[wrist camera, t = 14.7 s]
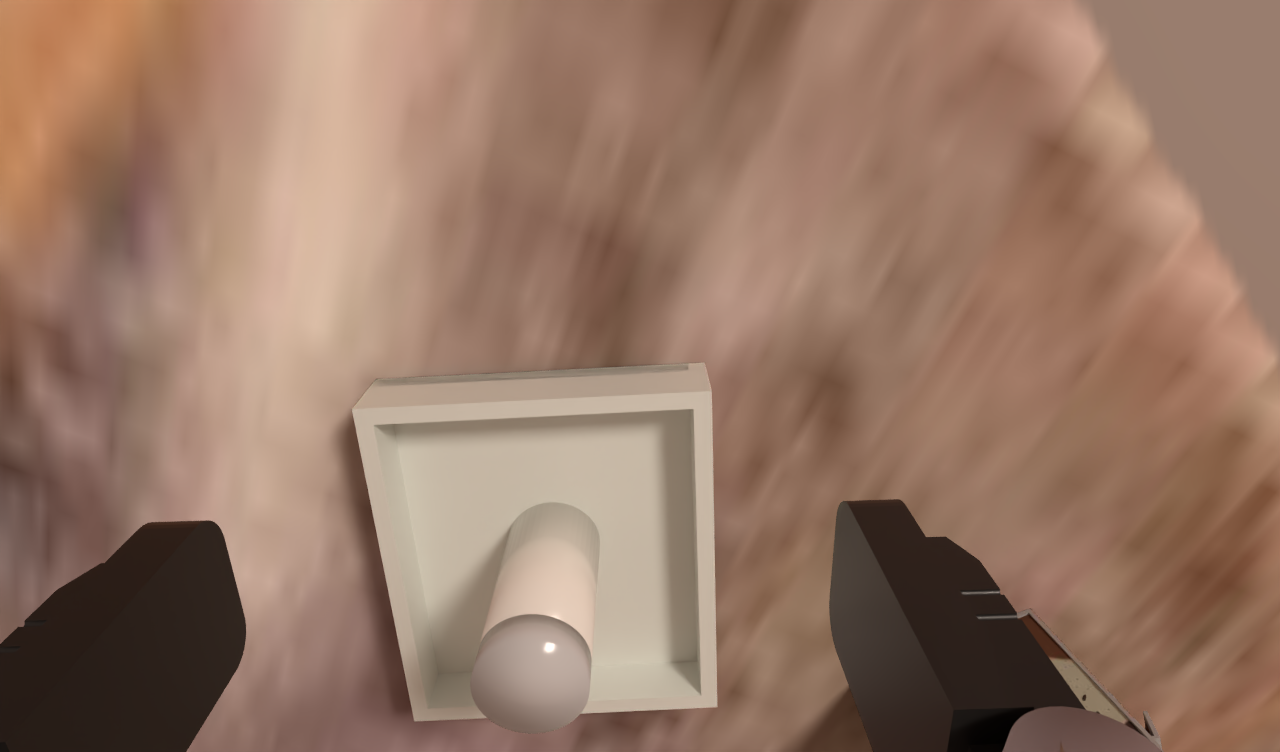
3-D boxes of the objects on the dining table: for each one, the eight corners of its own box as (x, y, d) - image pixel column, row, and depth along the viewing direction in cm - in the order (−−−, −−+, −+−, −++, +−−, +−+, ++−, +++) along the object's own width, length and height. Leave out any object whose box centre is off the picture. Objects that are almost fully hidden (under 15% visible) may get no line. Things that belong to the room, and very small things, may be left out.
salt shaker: (514, 582, 41) (478, 736, 31) (503, 504, 39) (462, 642, 30) (603, 578, 41) (593, 730, 31) (597, 500, 39) (584, 637, 30)
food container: (876, 750, 47) (937, 922, 37) (841, 675, 45) (897, 837, 35) (1083, 679, 45) (1201, 841, 36) (1057, 598, 43) (1176, 747, 34)
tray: (430, 672, 44) (414, 721, 41) (375, 379, 38) (351, 409, 34) (710, 659, 44) (717, 707, 41) (704, 362, 38) (711, 391, 34)
